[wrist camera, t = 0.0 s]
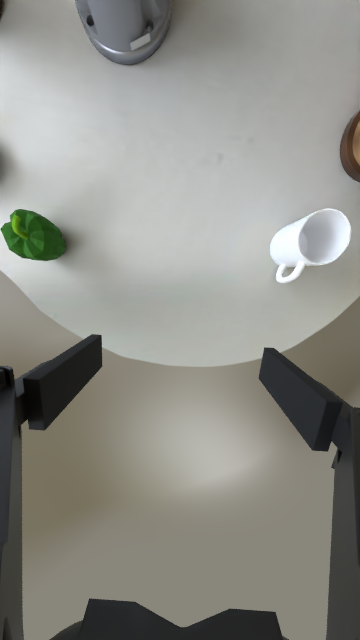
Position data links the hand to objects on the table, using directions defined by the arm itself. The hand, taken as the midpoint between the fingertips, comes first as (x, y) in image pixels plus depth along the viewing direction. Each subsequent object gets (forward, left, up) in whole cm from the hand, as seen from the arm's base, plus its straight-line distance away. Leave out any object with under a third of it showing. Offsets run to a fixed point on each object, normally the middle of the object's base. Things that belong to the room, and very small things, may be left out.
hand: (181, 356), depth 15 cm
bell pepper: (-11, -28, -28) cm, 41 cm away
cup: (-12, +21, -28) cm, 37 cm away
